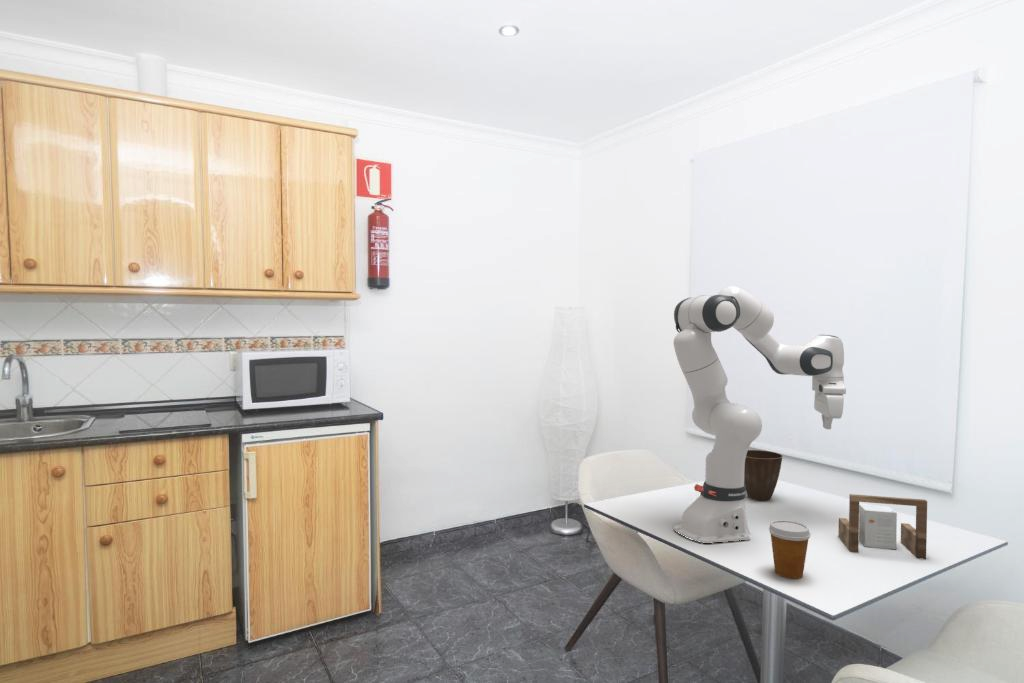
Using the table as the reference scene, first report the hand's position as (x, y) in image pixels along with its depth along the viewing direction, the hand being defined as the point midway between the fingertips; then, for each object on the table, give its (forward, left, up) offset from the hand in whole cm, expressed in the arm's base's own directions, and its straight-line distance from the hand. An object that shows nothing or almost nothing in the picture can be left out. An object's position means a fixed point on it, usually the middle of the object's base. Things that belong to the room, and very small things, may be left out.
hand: (826, 428), depth 185 cm
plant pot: (-2, +25, -29) cm, 39 cm away
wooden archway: (-8, -23, -29) cm, 38 cm away
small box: (-7, -21, -29) cm, 37 cm away
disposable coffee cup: (-46, -25, -29) cm, 60 cm away
